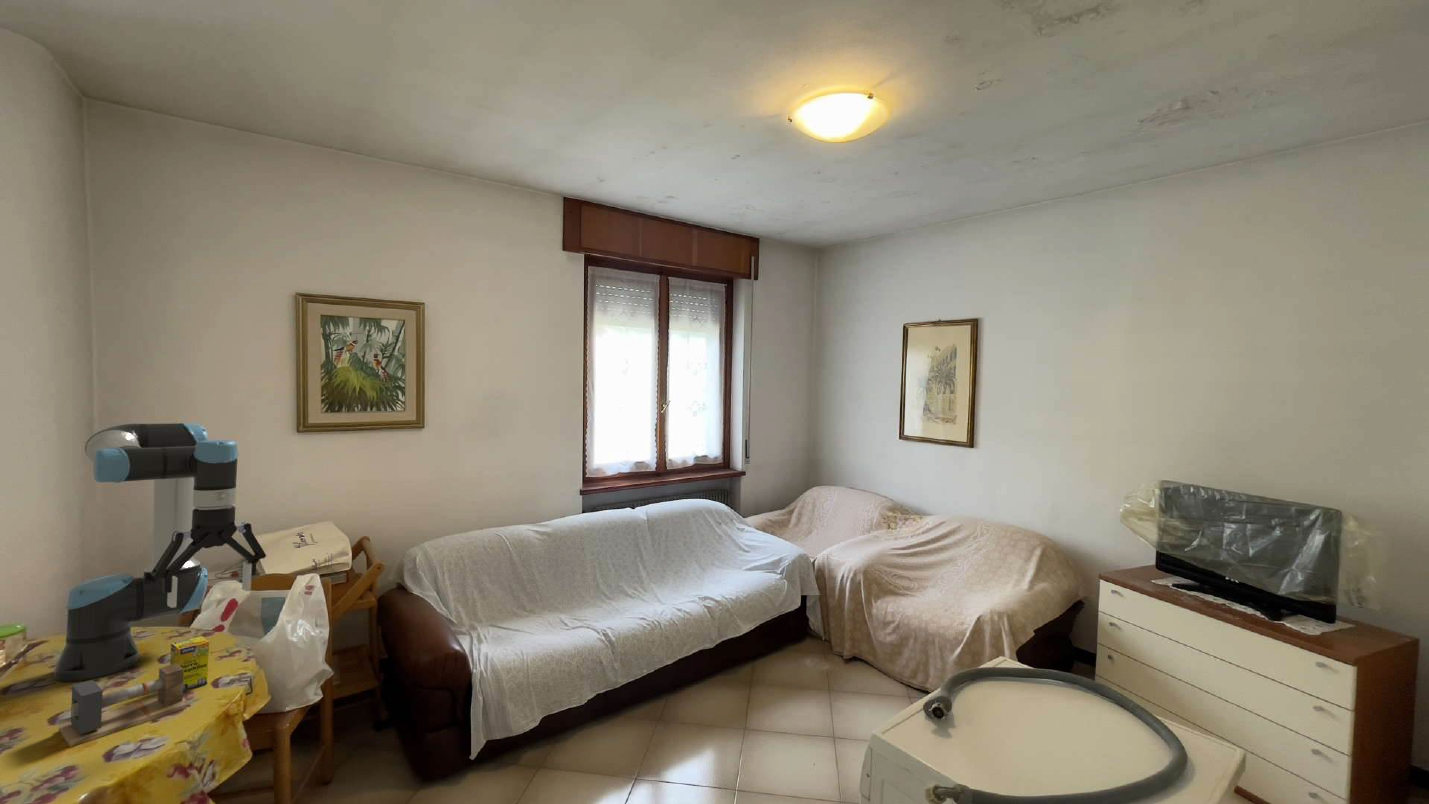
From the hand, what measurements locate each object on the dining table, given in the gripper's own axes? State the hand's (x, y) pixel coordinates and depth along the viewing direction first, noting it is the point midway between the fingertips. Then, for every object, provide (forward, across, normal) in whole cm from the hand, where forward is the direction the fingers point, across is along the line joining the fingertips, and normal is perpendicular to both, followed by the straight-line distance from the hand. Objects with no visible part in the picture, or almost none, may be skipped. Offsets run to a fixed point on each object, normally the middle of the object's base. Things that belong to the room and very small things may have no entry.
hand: (210, 597), depth 131 cm
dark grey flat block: (+25, -17, +10) cm, 32 cm away
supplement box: (+26, +2, +18) cm, 32 cm away
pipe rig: (+26, -11, +10) cm, 30 cm away
